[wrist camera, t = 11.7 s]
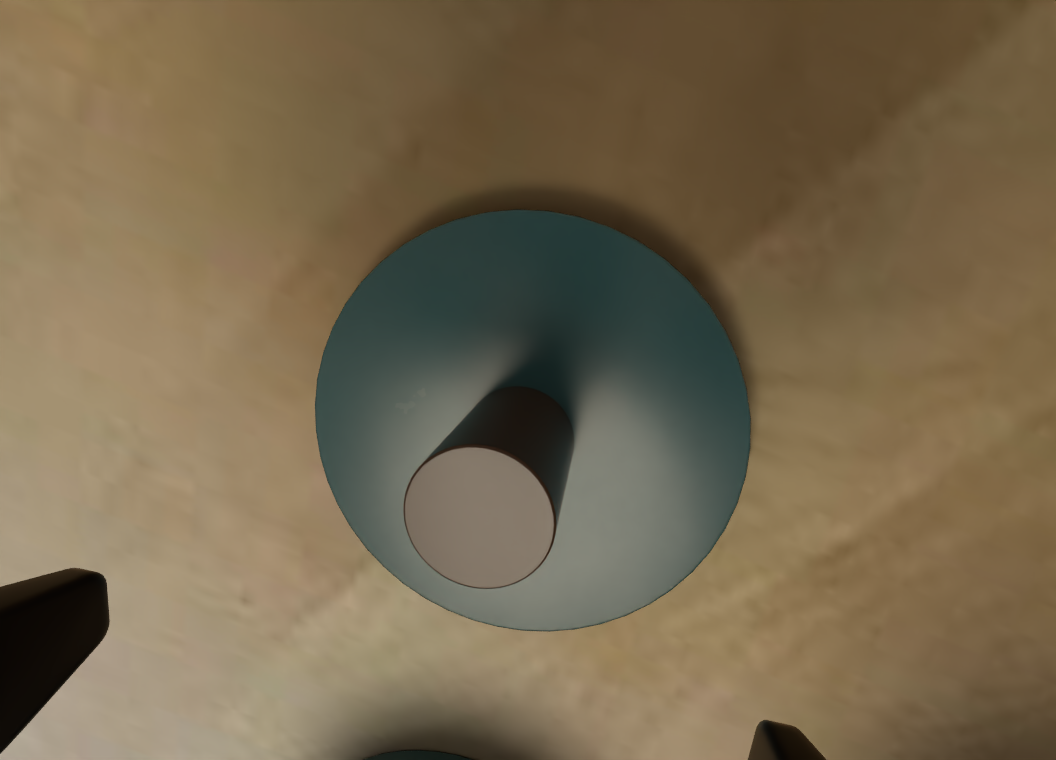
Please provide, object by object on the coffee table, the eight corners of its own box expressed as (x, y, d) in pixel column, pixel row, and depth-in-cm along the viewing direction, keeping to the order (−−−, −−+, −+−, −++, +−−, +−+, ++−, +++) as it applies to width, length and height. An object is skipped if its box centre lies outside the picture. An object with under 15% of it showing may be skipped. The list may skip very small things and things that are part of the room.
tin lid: (787, 240, 15) (903, 231, 9) (695, 644, 18) (736, 840, 12) (340, 189, 16) (181, 152, 10) (327, 568, 19) (199, 707, 13)
